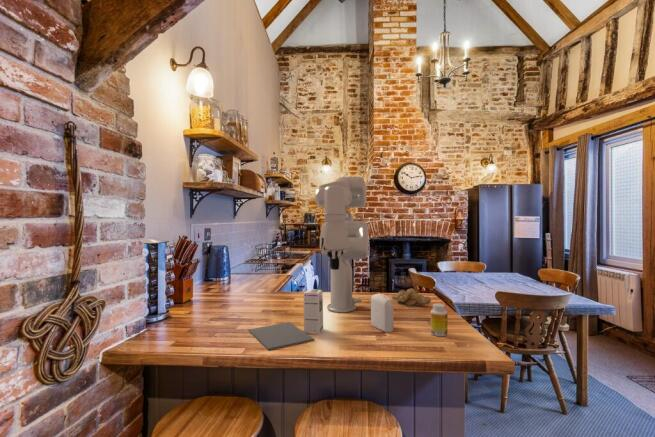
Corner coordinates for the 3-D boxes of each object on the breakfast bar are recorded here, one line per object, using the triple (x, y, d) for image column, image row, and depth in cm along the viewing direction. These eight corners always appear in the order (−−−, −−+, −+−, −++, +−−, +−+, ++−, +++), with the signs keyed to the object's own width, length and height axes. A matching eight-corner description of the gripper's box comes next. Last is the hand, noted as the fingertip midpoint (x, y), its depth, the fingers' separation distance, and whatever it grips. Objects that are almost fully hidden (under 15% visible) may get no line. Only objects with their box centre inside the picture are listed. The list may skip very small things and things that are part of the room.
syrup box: (319, 334, 118) (319, 293, 118) (303, 333, 120) (303, 292, 119) (323, 329, 124) (323, 289, 124) (307, 328, 125) (307, 288, 125)
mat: (289, 323, 130) (289, 322, 130) (314, 340, 113) (314, 338, 113) (248, 331, 122) (248, 329, 122) (268, 350, 105) (268, 348, 105)
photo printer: (369, 325, 128) (369, 292, 128) (378, 323, 130) (378, 291, 130) (385, 333, 119) (385, 298, 119) (395, 331, 121) (395, 297, 121)
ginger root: (389, 296, 167) (393, 280, 167) (420, 304, 166) (424, 288, 166) (393, 306, 151) (398, 289, 151) (428, 315, 151) (433, 297, 150)
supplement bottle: (448, 337, 115) (448, 307, 115) (430, 336, 116) (430, 306, 116) (446, 332, 120) (446, 303, 120) (430, 330, 122) (430, 302, 122)
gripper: (345, 219, 133) (346, 266, 133) (311, 219, 125) (312, 269, 125) (357, 219, 126) (357, 269, 126) (321, 219, 119) (322, 272, 119)
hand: (334, 269), depth 126 cm, fingers closed
